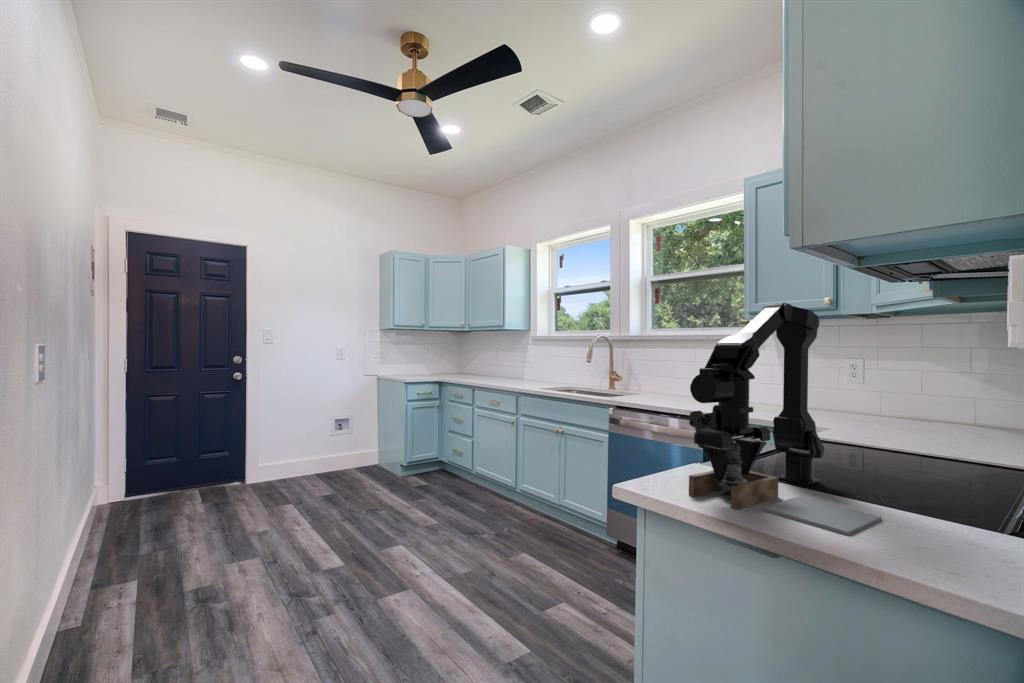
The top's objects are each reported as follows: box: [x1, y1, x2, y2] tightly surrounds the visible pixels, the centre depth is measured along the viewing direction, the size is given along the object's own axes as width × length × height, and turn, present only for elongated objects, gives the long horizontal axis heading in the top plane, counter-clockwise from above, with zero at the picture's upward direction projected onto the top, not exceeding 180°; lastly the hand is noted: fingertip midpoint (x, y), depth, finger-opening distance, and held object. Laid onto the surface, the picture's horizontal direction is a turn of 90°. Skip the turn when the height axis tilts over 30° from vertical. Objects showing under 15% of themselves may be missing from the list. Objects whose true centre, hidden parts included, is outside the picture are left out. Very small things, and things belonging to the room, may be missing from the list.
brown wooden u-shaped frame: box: [688, 468, 779, 511], centre depth 98 cm, size 15×10×4 cm
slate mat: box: [762, 495, 883, 536], centre depth 88 cm, size 14×14×1 cm
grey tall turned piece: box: [717, 440, 748, 501], centre depth 98 cm, size 6×6×12 cm
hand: (732, 477), depth 98 cm, fingers open, 9 cm apart
